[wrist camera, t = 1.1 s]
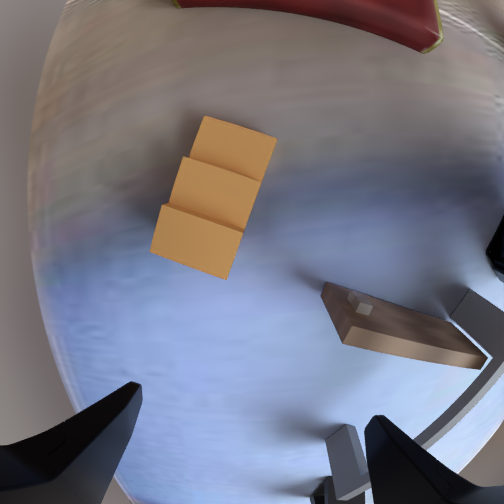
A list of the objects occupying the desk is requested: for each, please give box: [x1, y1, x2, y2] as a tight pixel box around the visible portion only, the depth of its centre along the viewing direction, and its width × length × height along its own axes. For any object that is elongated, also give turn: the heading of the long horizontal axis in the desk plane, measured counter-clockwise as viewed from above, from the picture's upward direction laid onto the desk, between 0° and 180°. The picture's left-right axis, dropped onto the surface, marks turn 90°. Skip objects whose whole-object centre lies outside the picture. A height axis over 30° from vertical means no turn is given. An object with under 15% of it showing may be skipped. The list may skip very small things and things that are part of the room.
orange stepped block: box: [150, 116, 277, 280], centre depth 17 cm, size 9×5×4 cm, turn 160°
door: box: [321, 282, 488, 370], centre depth 18 cm, size 15×2×7 cm, turn 71°
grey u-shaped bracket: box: [325, 289, 504, 500], centre depth 19 cm, size 23×2×9 cm, turn 146°
